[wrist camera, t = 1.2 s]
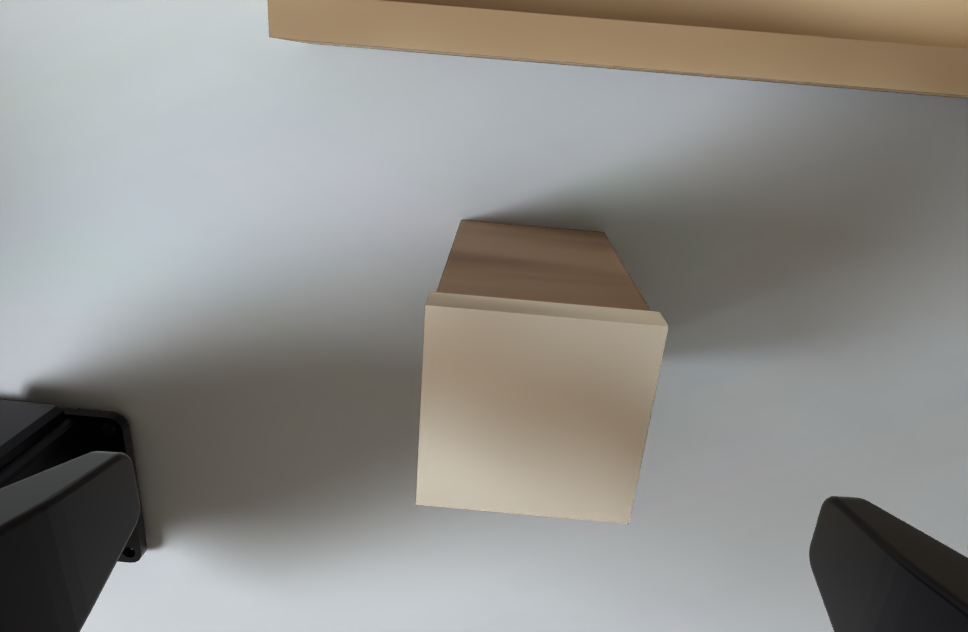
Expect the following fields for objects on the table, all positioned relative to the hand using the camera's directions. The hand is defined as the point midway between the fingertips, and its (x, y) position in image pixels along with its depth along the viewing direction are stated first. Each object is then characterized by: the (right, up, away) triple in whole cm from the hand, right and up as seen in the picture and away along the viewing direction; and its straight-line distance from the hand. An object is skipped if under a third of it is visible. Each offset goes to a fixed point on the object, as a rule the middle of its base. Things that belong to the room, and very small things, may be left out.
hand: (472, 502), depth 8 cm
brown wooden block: (+2, +3, +12) cm, 13 cm away
